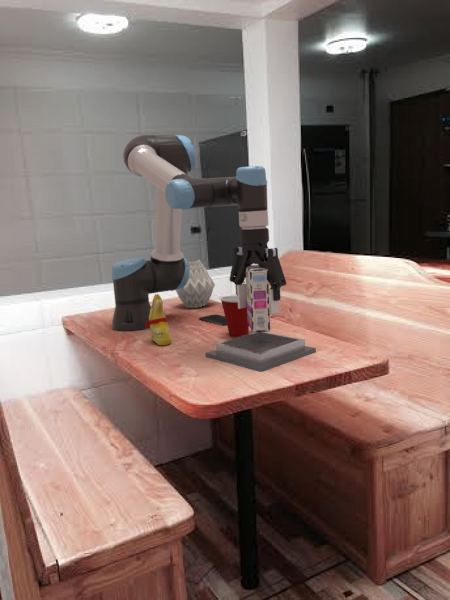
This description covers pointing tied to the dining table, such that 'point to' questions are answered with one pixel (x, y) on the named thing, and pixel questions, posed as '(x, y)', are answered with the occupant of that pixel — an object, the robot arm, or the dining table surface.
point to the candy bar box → (257, 298)
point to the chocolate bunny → (158, 322)
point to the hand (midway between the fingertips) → (258, 310)
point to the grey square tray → (260, 350)
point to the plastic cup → (235, 316)
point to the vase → (196, 286)
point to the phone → (214, 319)
